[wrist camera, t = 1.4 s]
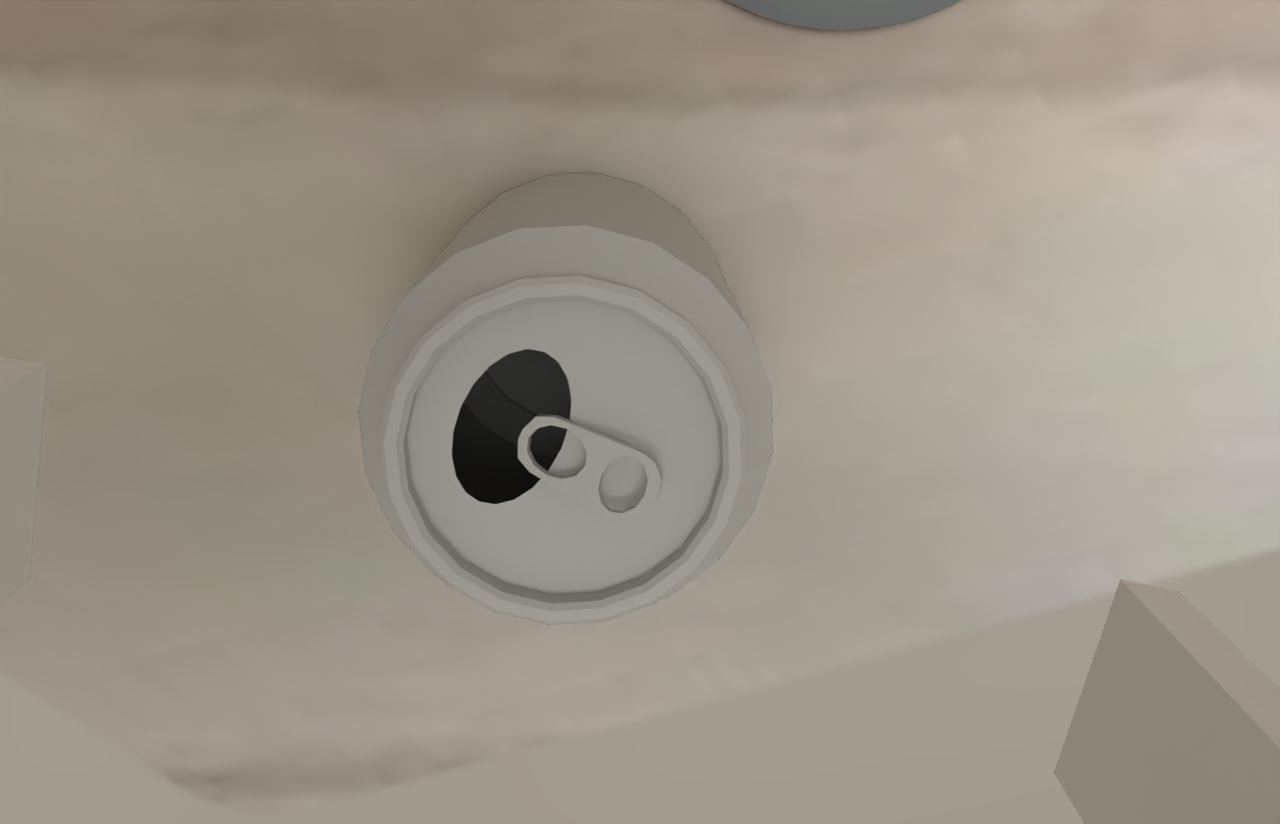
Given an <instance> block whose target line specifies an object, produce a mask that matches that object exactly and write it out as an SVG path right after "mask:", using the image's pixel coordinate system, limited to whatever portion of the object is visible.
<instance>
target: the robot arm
mask: <svg viewBox="0 0 1280 824" xmlns="http://www.w3.org/2000/svg"><path fill="white" fill-rule="evenodd" d="M46 374H47V365H45V364H40V363H35V362H30V361H25V360H20V359H15V358H10V357H5V356H0V603H1V602H3V601H4V600H5V599H6V598H7V597H9V596H10V595H11V594H12V593H13V592H14V591H16V590H17V589H18V588H19V587H20V586H22V585H23V584H24V583H25V582H26V581H27V580H29V577H30V565H31V553H32V541H33V529H34V517H35V506H36V494H37V482H38V470H39V458H40V446H41V434H42V422H43V410H44V398H45V386H46ZM1054 774H1055V775H1056V777H1057V779H1058V780H1059V782H1060V784H1061V785H1062V787H1063V789H1064V790H1065V792H1066V794H1067V795H1068V797H1069V799H1070V800H1071V802H1072V804H1073V805H1074V807H1075V809H1076V811H1077V812H1078V814H1079V816H1080V817H1081V819H1082V821H1083V822H1084V824H1280V688H1279V687H1278V686H1277V685H1276V684H1275V683H1274V682H1273V681H1272V680H1271V679H1270V678H1269V677H1268V676H1267V675H1266V674H1265V673H1264V672H1263V671H1262V670H1261V669H1260V668H1259V667H1258V666H1257V665H1256V664H1255V663H1253V662H1252V661H1251V660H1250V659H1249V658H1248V657H1247V656H1246V655H1245V654H1244V653H1243V652H1242V651H1241V650H1240V649H1239V648H1238V647H1237V646H1236V645H1235V644H1234V643H1233V642H1232V641H1231V640H1230V639H1229V638H1228V637H1227V636H1225V635H1224V634H1223V633H1222V632H1221V631H1220V630H1219V629H1218V628H1217V627H1216V626H1215V625H1214V624H1213V623H1212V622H1211V621H1210V620H1209V619H1208V618H1207V617H1206V616H1205V615H1204V614H1203V613H1202V612H1201V611H1200V610H1199V609H1197V607H1196V606H1194V605H1193V604H1192V603H1191V602H1190V601H1189V600H1188V599H1187V598H1186V597H1185V596H1184V595H1183V594H1182V593H1181V592H1180V591H1176V590H1171V589H1166V588H1161V587H1156V586H1151V585H1146V584H1141V583H1136V582H1131V581H1126V580H1121V579H1120V582H1119V585H1118V588H1117V591H1116V594H1115V597H1114V600H1113V603H1112V606H1111V608H1110V611H1109V614H1108V617H1107V620H1106V623H1105V626H1104V629H1103V632H1102V635H1101V638H1100V640H1099V643H1098V646H1097V649H1096V652H1095V655H1094V658H1093V661H1092V664H1091V667H1090V670H1089V673H1088V675H1087V678H1086V681H1085V684H1084V687H1083V690H1082V693H1081V696H1080V699H1079V701H1078V704H1077V707H1076V710H1075V713H1074V716H1073V719H1072V722H1071V725H1070V728H1069V730H1068V733H1067V736H1066V739H1065V742H1064V745H1063V748H1062V751H1061V754H1060V757H1059V759H1058V762H1057V765H1056V768H1055V771H1054Z"/></svg>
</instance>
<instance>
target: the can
mask: <svg viewBox="0 0 1280 824" xmlns="http://www.w3.org/2000/svg"><path fill="white" fill-rule="evenodd" d="M358 414H359V422H360V430H361V438H362V447H363V455H364V463H365V472H366V475H367V478H368V480H369V482H370V484H371V486H372V488H373V490H374V492H375V494H376V497H377V499H378V501H379V503H380V505H381V507H382V509H383V511H384V513H385V516H386V518H387V520H388V522H389V524H390V526H391V528H392V530H393V531H394V532H395V533H396V534H397V536H398V537H399V538H400V539H401V540H402V541H403V542H404V543H405V544H406V545H407V546H408V547H409V548H410V549H411V551H412V552H413V553H414V554H415V555H416V556H417V557H418V558H419V559H420V560H421V561H422V562H423V563H424V564H425V565H426V567H427V568H428V569H429V570H430V571H431V572H432V573H433V574H434V575H435V576H437V577H438V578H440V579H441V580H442V581H443V582H444V583H445V584H446V585H448V586H450V587H451V588H453V589H455V590H457V591H458V592H460V593H462V594H464V595H465V596H467V597H469V598H471V599H472V600H474V601H476V602H478V603H479V604H481V605H483V606H485V607H486V608H488V609H490V610H492V611H493V612H496V613H501V614H505V615H509V616H513V617H518V618H522V619H526V620H530V621H535V622H539V623H543V624H547V625H552V624H571V623H589V622H604V621H607V620H610V619H613V618H615V617H618V616H621V615H624V614H627V613H629V612H632V611H635V610H638V609H641V608H643V607H646V606H649V605H652V604H655V603H656V602H658V601H659V600H661V599H664V598H667V597H669V596H671V595H672V594H673V593H675V592H676V591H677V590H679V589H680V588H682V587H683V586H684V585H686V584H687V583H688V582H690V581H691V580H692V579H694V578H695V577H696V576H698V575H699V574H700V573H702V572H703V571H704V570H706V569H707V568H708V567H710V566H711V565H712V564H714V563H715V562H716V561H718V560H719V559H720V557H721V556H722V554H723V553H724V552H725V550H726V549H727V548H728V546H729V545H730V543H731V542H732V541H733V539H734V538H735V536H736V535H737V534H738V532H739V531H740V529H741V528H742V527H743V525H744V524H745V523H746V521H747V520H748V518H749V517H750V516H751V514H752V513H753V511H754V510H755V506H756V503H757V500H758V497H759V494H760V491H761V487H762V484H763V481H764V478H765V475H766V472H767V468H768V465H769V462H770V459H771V456H772V452H773V443H772V395H771V387H770V385H769V382H768V379H767V376H766V374H765V371H764V368H763V365H762V363H761V360H760V357H759V354H758V352H757V349H756V346H755V343H754V341H753V338H752V335H751V332H750V330H749V328H748V326H747V324H746V322H745V319H744V317H743V315H742V313H741V311H740V309H739V307H738V305H737V303H736V301H735V299H734V297H733V295H732V293H731V290H730V288H729V286H728V284H727V282H726V280H725V278H724V276H723V274H722V272H721V270H720V268H719V266H718V264H717V261H716V259H715V257H714V255H713V253H712V251H711V249H710V247H709V246H708V245H707V244H706V242H705V241H704V240H703V239H702V237H701V236H700V235H699V234H698V232H697V231H696V230H695V228H694V227H693V226H692V225H691V223H690V222H689V221H688V220H687V218H686V217H685V216H684V215H683V213H682V212H681V211H680V210H678V209H677V208H675V207H673V206H672V205H670V204H669V203H667V202H666V201H664V200H663V199H661V198H660V197H658V196H657V195H655V194H654V193H652V192H651V191H649V190H648V189H646V188H645V187H643V186H642V185H638V184H635V183H631V182H627V181H624V180H620V179H616V178H612V177H609V176H605V175H601V174H598V173H582V174H563V175H547V176H544V177H542V178H539V179H537V180H534V181H532V182H529V183H527V184H524V185H521V186H519V187H516V188H514V189H511V190H509V191H506V192H504V193H502V194H501V195H500V196H499V197H497V198H496V199H495V200H494V201H493V202H491V203H490V204H489V205H488V206H487V207H485V208H484V209H483V210H482V211H481V212H479V213H478V214H477V215H476V216H475V217H473V218H472V219H471V220H470V221H469V222H468V223H467V224H466V225H465V226H464V227H463V228H462V229H461V231H460V232H459V233H458V234H457V235H456V236H455V238H454V239H453V240H452V241H451V242H450V243H449V245H448V246H447V247H446V248H445V249H444V250H443V252H442V253H441V254H440V255H439V256H438V257H437V259H436V260H435V261H434V262H433V263H432V264H431V266H430V267H429V268H428V269H427V270H426V271H425V273H424V274H423V275H422V276H421V277H420V278H419V280H418V281H417V282H416V283H415V284H414V285H413V287H412V288H411V289H410V290H409V291H408V292H407V294H406V295H405V296H404V298H403V300H402V301H401V303H400V304H399V306H398V308H397V309H396V311H395V313H394V314H393V316H392V318H391V319H390V321H389V323H388V324H387V326H386V328H385V329H384V331H383V332H382V334H381V336H380V337H379V339H378V341H377V342H376V344H375V346H374V347H373V349H372V351H371V355H370V360H369V365H368V369H367V374H366V379H365V383H364V388H363V393H362V397H361V402H360V407H359V411H358Z"/></svg>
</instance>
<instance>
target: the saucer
mask: <svg viewBox="0 0 1280 824" xmlns="http://www.w3.org/2000/svg"><path fill="white" fill-rule="evenodd" d="M725 1H727V2H729V3H731V4H733V5H735V6H737V7H740V8H742V9H744V10H746V11H748V12H750V13H752V14H755V15H757V16H760V17H764V18H767V19H770V20H773V21H777V22H780V23H783V24H786V25H793V26H799V27H805V28H811V29H817V30H858V29H866V28H875V27H883V26H890V25H894V24H898V23H902V22H906V21H910V20H914V19H918V18H921V17H924V16H926V15H929V14H931V13H934V12H936V11H939V10H941V9H944V8H946V7H949V6H951V5H953V4H955V3H957V2H959V1H960V0H725Z"/></svg>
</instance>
